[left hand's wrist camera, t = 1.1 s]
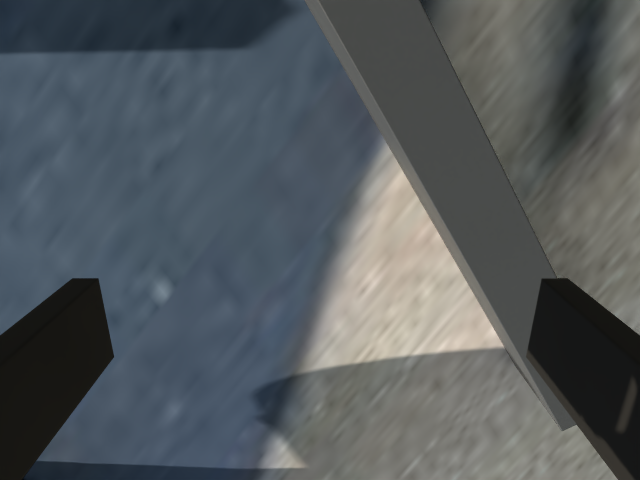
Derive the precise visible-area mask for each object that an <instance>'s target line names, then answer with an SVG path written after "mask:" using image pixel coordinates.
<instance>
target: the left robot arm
mask: <svg viewBox="0 0 640 480" xmlns="http://www.w3.org/2000/svg"><path fill="white" fill-rule="evenodd" d="M113 358H114V354H113V349H112V344H111V339H110V334H109V329H108V324H107V319H106V314H105V309H104V304H103V299H102V294H101V289H100V284H99V279H98V278H72V279H71V280H70V281H69V282H67V283H66V284H65V285H64V286H62V287H61V288H60V289H58V290H57V291H56V292H55V293H53V294H52V295H51V296H50V297H48V298H47V299H46V300H45V301H43V302H42V303H41V304H40V305H38V306H37V307H36V308H34V309H33V310H32V311H31V312H29V313H28V314H27V315H26V316H24V317H23V318H22V319H21V320H19V321H18V322H17V323H15V324H14V325H13V326H12V327H10V328H9V329H8V330H7V331H5V332H4V333H3V334H2V335H0V480H22V479H23V477H24V476H25V475H26V473H27V472H28V471H29V469H30V468H31V467H32V465H33V464H34V463H35V461H36V460H37V459H38V457H39V456H40V455H41V453H42V452H43V451H44V449H45V448H46V447H47V445H48V444H49V443H50V441H51V440H52V439H53V437H54V436H55V435H56V433H57V432H58V431H59V429H60V428H61V427H62V425H63V424H64V423H65V421H66V420H67V419H68V417H69V416H70V415H71V413H72V412H73V411H74V409H75V408H76V407H77V405H78V404H79V403H80V402H81V400H82V399H83V398H84V396H85V395H86V394H87V392H88V391H89V390H90V388H91V387H92V386H93V384H94V383H95V382H96V380H97V379H98V378H99V376H100V375H101V374H102V372H103V371H104V370H105V368H106V367H107V366H108V364H109V363H110V362H111V360H112V359H113ZM526 358H527V359H528V360H529V362H530V363H531V364H532V366H533V367H534V368H535V370H536V371H537V372H538V374H539V375H540V376H541V378H542V379H543V380H544V382H545V383H546V384H547V386H548V387H549V388H550V390H551V391H552V392H553V394H554V395H555V396H556V398H557V399H558V400H559V402H560V403H561V404H562V405H563V407H564V408H565V409H566V411H567V412H568V413H569V415H570V416H571V417H572V419H573V420H574V421H575V423H576V424H577V425H578V427H579V428H580V429H581V431H582V432H583V433H584V435H585V436H586V437H587V439H588V440H589V441H590V443H591V444H592V445H593V447H594V448H595V449H596V451H597V452H598V453H599V455H600V456H601V457H602V459H603V460H604V461H605V463H606V464H607V465H608V467H609V468H610V469H611V471H612V472H613V473H614V475H615V476H616V477H617V479H618V480H640V335H638V334H637V333H636V332H635V331H633V330H632V329H631V328H630V327H628V326H627V325H626V324H625V323H623V322H622V321H621V320H619V319H618V318H617V317H616V316H614V315H613V314H612V313H611V312H609V311H608V310H607V309H606V308H604V307H603V306H602V305H600V304H599V303H598V302H597V301H595V300H594V299H593V298H592V297H590V296H589V295H588V294H587V293H585V292H584V291H583V290H582V289H580V288H579V287H578V286H576V285H575V284H574V283H573V282H571V281H570V280H569V279H568V278H542V279H541V284H540V289H539V294H538V299H537V304H536V309H535V314H534V319H533V324H532V329H531V334H530V339H529V344H528V349H527V354H526Z"/></svg>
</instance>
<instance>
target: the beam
mask: <svg viewBox="0 0 640 480" xmlns="http://www.w3.org/2000/svg"><path fill="white" fill-rule="evenodd" d="M305 2H306V4H307V5H308V7H309V9H310V11H311V12H312V14H313V16H314V17H315V19H316V21H317V23H318V24H319V26H320V28H321V30H322V31H323V33H324V35H325V37H326V38H327V40H328V42H329V43H330V45H331V47H332V49H333V50H334V52H335V54H336V56H337V57H338V59H339V61H340V63H341V64H342V66H343V68H344V69H345V71H346V73H347V75H348V76H349V78H350V80H351V82H352V83H353V85H354V87H355V89H356V90H357V92H358V94H359V95H360V97H361V99H362V101H363V102H364V104H365V106H366V108H367V109H368V111H369V113H370V115H371V116H372V118H373V120H374V121H375V123H376V125H377V127H378V128H379V130H380V132H381V134H382V135H383V137H384V139H385V141H386V142H387V144H388V146H389V147H390V149H391V151H392V153H393V154H394V156H395V158H396V160H397V161H398V163H399V165H400V167H401V168H402V170H403V172H404V173H405V175H406V177H407V179H408V180H409V182H410V184H411V186H412V187H413V189H414V191H415V193H416V194H417V196H418V198H419V200H420V201H421V203H422V205H423V206H424V208H425V210H426V212H427V213H428V215H429V217H430V219H431V220H432V222H433V224H434V226H435V227H436V229H437V231H438V232H439V234H440V236H441V238H442V239H443V241H444V243H445V245H446V246H447V248H448V250H449V252H450V253H451V255H452V257H453V258H454V260H455V262H456V264H457V265H458V267H459V269H460V271H461V272H462V274H463V276H464V278H465V279H466V281H467V283H468V284H469V286H470V288H471V290H472V291H473V293H474V295H475V297H476V298H477V300H478V302H479V304H480V305H481V307H482V309H483V310H484V312H485V314H486V316H487V317H488V319H489V321H490V323H491V324H492V326H493V328H494V330H495V331H496V333H497V335H498V336H499V338H500V340H501V342H502V343H503V345H504V347H505V349H506V350H507V352H508V354H509V356H510V357H511V359H512V361H513V362H514V364H515V366H516V367H517V369H518V370H519V372H520V373H521V374H522V376H523V377H524V379H525V380H526V381H527V383H528V384H529V386H530V387H531V388H532V390H533V391H534V393H535V394H536V396H537V397H538V398H539V400H540V401H541V403H542V404H543V405H544V407H545V408H546V410H547V411H548V412H549V414H550V415H551V417H552V418H553V419H554V421H555V422H556V424H557V425H558V426H559V428H560V429H561V430H562V431H564V430H566V429H568V428H570V427H572V426H575V425H577V424H576V423H575V421H574V420H573V419H572V417H571V416H570V415H569V413H568V412H567V411H566V409H565V408H564V407H563V405H562V404H561V403H560V402H559V400H558V399H557V398H556V396H555V395H554V394H553V392H552V391H551V390H550V388H549V387H548V386H547V384H546V383H545V382H544V380H543V379H542V378H541V376H540V375H539V374H538V372H537V371H536V370H535V368H534V367H533V366H532V364H531V363H530V362H529V360H528V359H527V358H526V354H527V349H528V344H529V339H530V334H531V329H532V324H533V319H534V314H535V309H536V304H537V299H538V294H539V289H540V284H541V279H542V278H557V277H556V275H555V273H554V271H553V269H552V267H551V265H550V263H549V261H548V259H547V257H546V255H545V253H544V251H543V249H542V247H541V245H540V243H539V241H538V239H537V237H536V235H535V233H534V231H533V229H532V227H531V225H530V223H529V221H528V219H527V216H526V214H525V212H524V210H523V208H522V206H521V204H520V202H519V200H518V198H517V196H516V194H515V192H514V190H513V188H512V186H511V184H510V182H509V180H508V178H507V176H506V174H505V172H504V170H503V168H502V166H501V164H500V162H499V160H498V158H497V156H496V154H495V152H494V150H493V148H492V146H491V144H490V141H489V139H488V137H487V135H486V133H485V131H484V129H483V127H482V125H481V123H480V121H479V119H478V117H477V115H476V113H475V111H474V109H473V107H472V105H471V103H470V101H469V99H468V97H467V95H466V93H465V91H464V89H463V87H462V85H461V83H460V81H459V79H458V77H457V75H456V73H455V71H454V69H453V66H452V64H451V62H450V60H449V58H448V56H447V54H446V52H445V50H444V48H443V46H442V44H441V42H440V40H439V38H438V36H437V34H436V32H435V30H434V28H433V26H432V24H431V22H430V20H429V18H428V16H427V14H426V12H425V10H424V8H423V6H422V4H421V2H420V0H305Z"/></svg>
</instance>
